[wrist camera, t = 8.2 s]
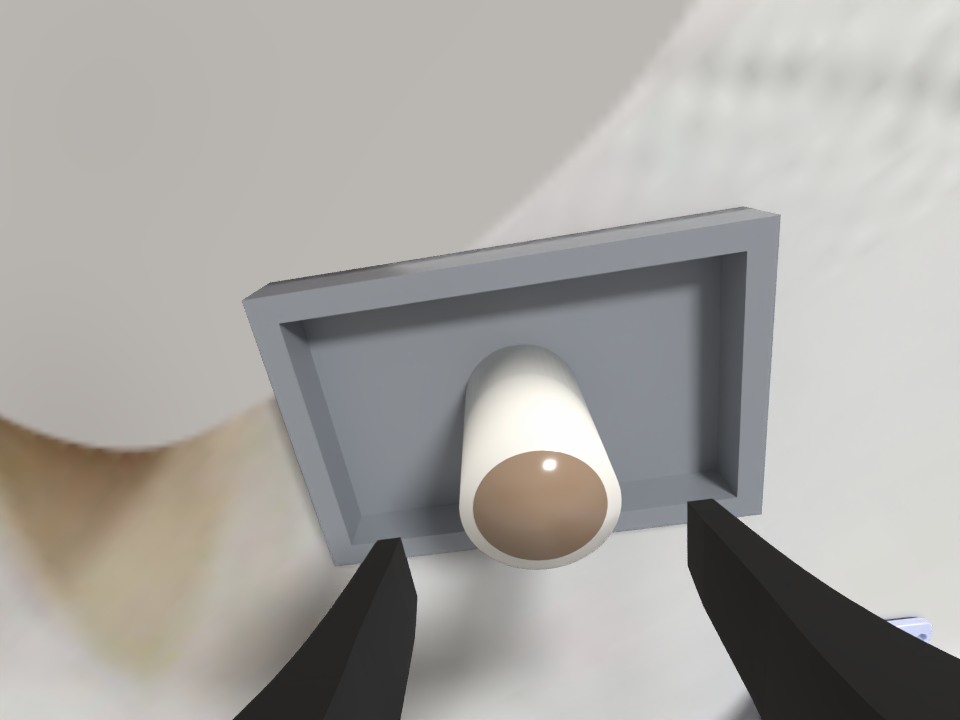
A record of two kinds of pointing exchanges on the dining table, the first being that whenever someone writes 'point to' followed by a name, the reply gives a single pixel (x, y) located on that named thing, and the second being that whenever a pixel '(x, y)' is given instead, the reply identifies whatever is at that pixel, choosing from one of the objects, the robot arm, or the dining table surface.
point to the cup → (533, 463)
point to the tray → (541, 322)
